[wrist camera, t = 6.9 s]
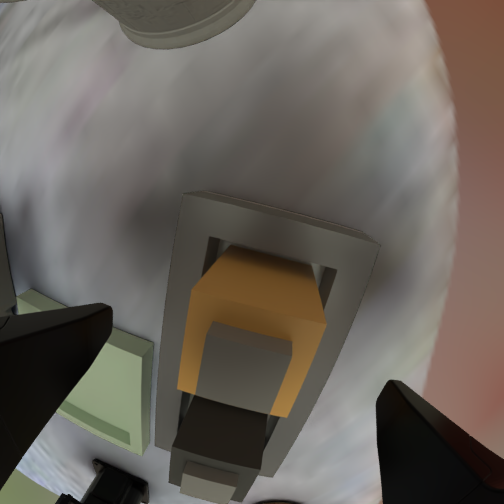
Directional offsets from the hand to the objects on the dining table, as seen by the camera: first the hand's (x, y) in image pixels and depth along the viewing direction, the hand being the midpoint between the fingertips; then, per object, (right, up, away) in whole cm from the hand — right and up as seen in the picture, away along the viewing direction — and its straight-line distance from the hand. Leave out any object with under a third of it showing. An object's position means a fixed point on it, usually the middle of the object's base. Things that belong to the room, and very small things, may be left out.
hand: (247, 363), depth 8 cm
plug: (+1, +1, +6) cm, 7 cm away
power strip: (0, -2, +8) cm, 8 cm away
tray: (-12, -6, +10) cm, 17 cm away
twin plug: (-1, -6, +8) cm, 10 cm away
